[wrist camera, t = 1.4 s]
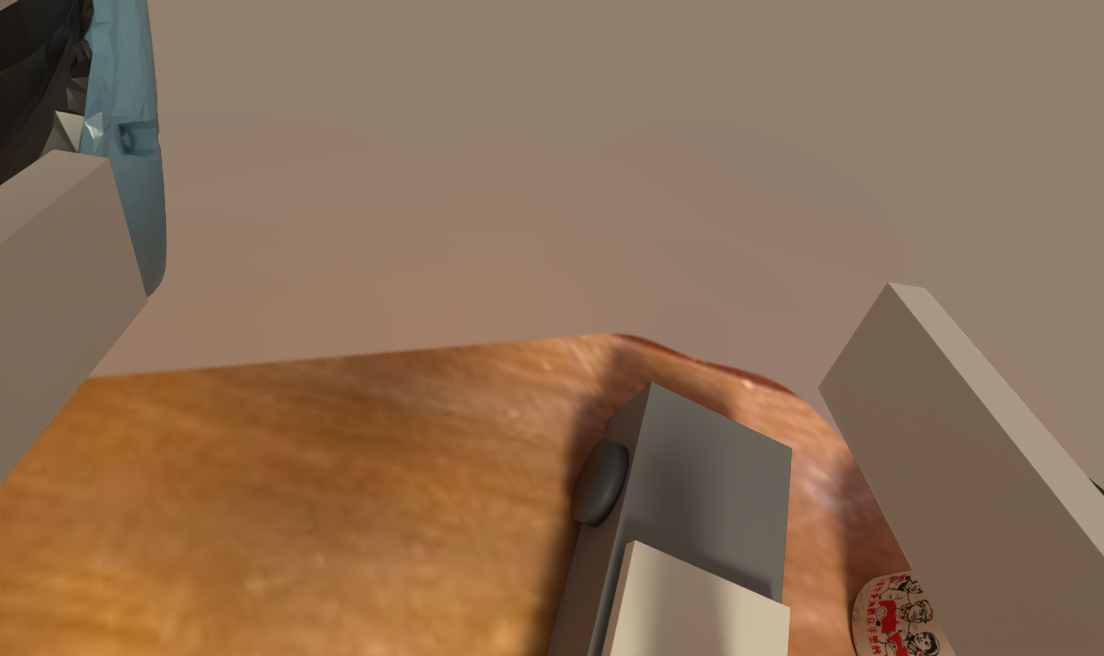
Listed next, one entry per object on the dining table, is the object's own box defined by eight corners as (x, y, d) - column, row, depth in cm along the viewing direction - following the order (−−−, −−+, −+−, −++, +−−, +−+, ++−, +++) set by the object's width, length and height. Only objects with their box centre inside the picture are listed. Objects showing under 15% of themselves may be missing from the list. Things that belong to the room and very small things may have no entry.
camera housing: (685, 876, 30) (762, 913, 25) (480, 802, 29) (518, 824, 24) (735, 475, 43) (793, 447, 38) (594, 410, 42) (635, 372, 37)
